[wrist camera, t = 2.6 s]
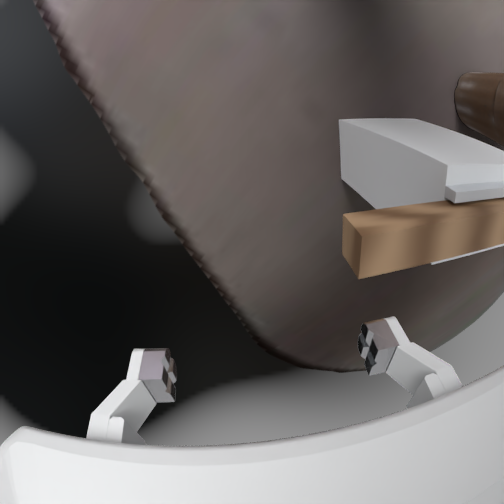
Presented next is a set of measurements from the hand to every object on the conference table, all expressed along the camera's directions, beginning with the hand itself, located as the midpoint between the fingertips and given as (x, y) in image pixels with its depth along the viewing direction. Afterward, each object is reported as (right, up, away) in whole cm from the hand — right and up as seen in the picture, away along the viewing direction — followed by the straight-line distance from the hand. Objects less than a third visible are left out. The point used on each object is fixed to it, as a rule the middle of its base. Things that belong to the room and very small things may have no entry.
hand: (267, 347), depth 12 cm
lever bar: (+18, +7, +11) cm, 22 cm away
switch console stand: (+21, +22, +33) cm, 45 cm away
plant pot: (+43, +34, +29) cm, 61 cm away
